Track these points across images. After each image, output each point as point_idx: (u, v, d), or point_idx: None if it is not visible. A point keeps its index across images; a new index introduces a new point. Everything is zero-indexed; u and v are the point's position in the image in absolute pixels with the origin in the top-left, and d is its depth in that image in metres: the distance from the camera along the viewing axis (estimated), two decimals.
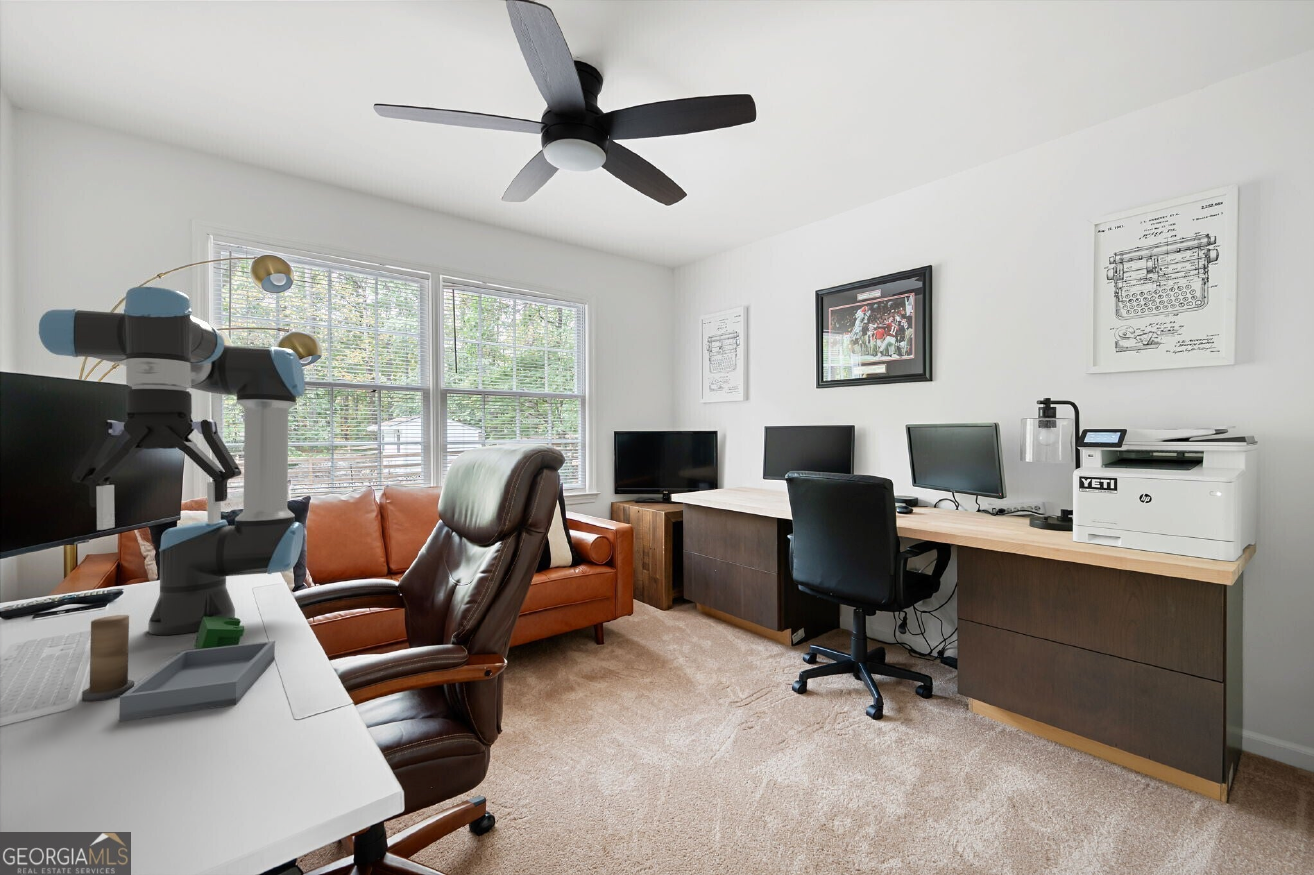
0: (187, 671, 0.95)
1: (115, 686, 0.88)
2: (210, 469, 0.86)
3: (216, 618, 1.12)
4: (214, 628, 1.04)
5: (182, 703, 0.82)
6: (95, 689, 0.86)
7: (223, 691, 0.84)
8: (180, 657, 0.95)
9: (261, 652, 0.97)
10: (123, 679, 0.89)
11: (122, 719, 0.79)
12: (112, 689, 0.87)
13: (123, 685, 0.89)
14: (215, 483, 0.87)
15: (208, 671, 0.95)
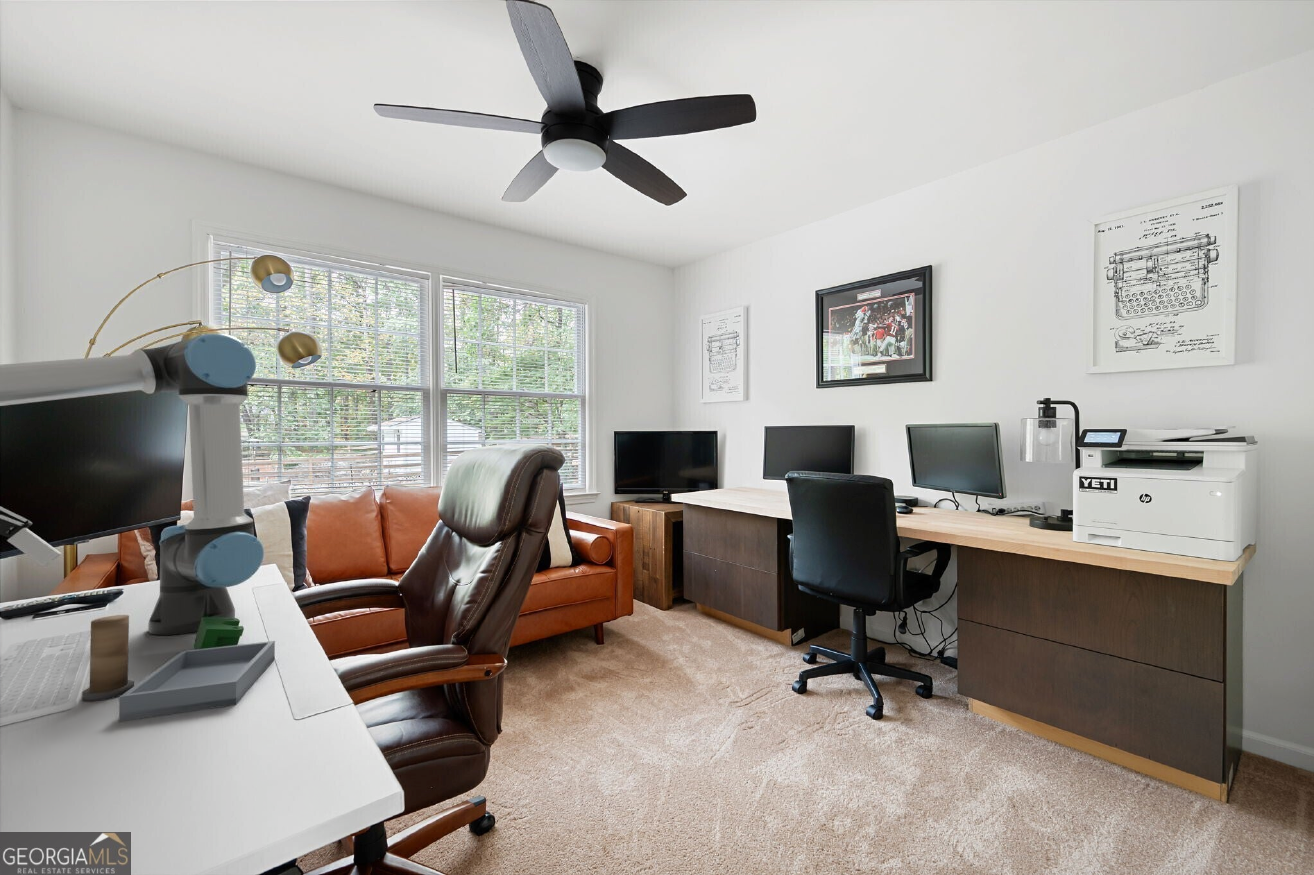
0: (187, 671, 0.95)
1: (115, 686, 0.88)
2: None
3: (215, 618, 1.12)
4: (213, 628, 1.04)
5: (182, 703, 0.82)
6: (95, 689, 0.86)
7: (223, 691, 0.84)
8: (180, 657, 0.95)
9: (261, 652, 0.97)
10: (123, 679, 0.89)
11: (122, 719, 0.79)
12: (112, 689, 0.87)
13: (123, 685, 0.89)
14: None
15: (208, 671, 0.95)
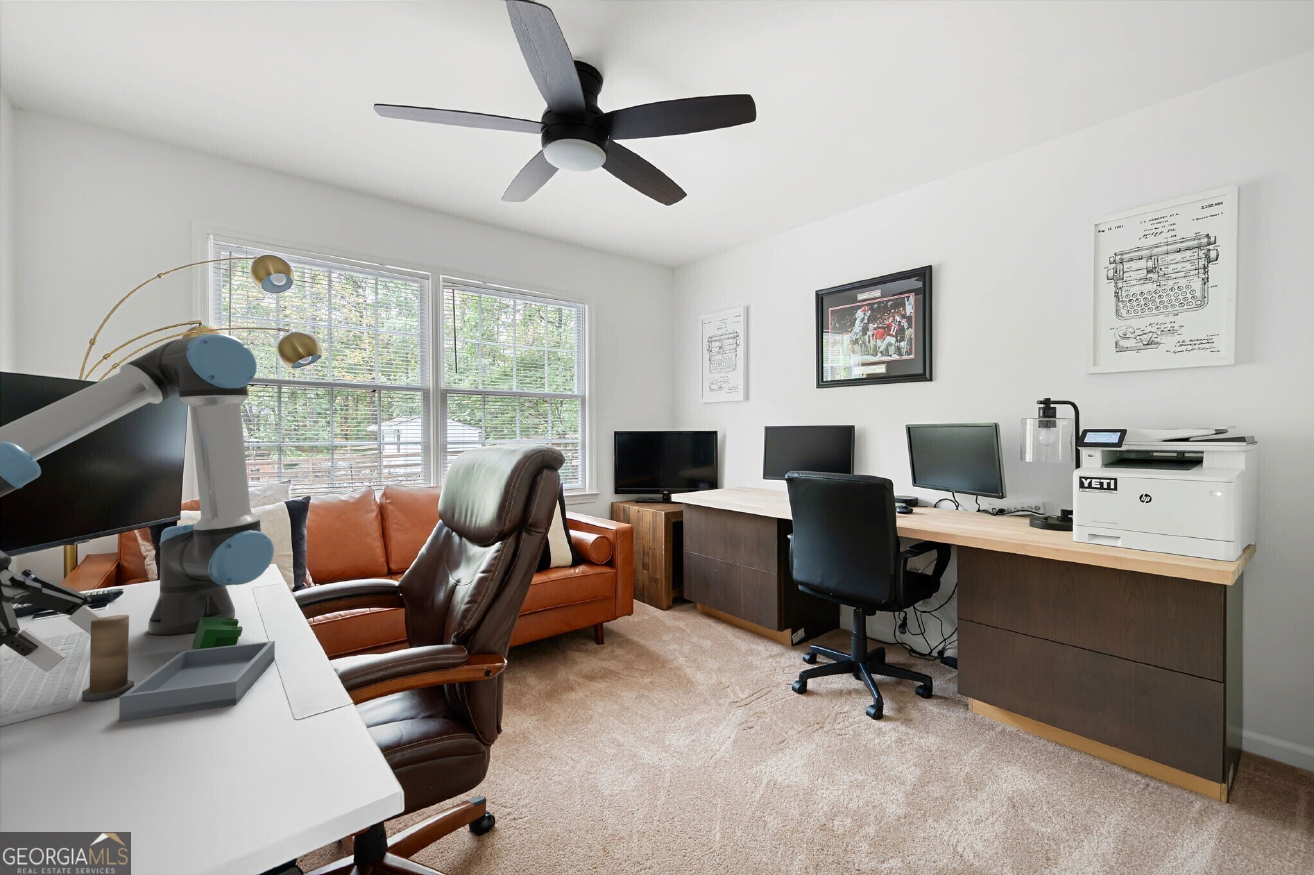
0: (187, 671, 0.95)
1: (115, 686, 0.88)
2: None
3: (214, 618, 1.11)
4: (212, 628, 1.04)
5: (182, 703, 0.82)
6: (95, 689, 0.86)
7: (223, 691, 0.84)
8: (180, 657, 0.95)
9: (261, 652, 0.97)
10: (123, 679, 0.89)
11: (122, 719, 0.79)
12: (112, 689, 0.87)
13: (123, 685, 0.89)
14: None
15: (208, 671, 0.95)
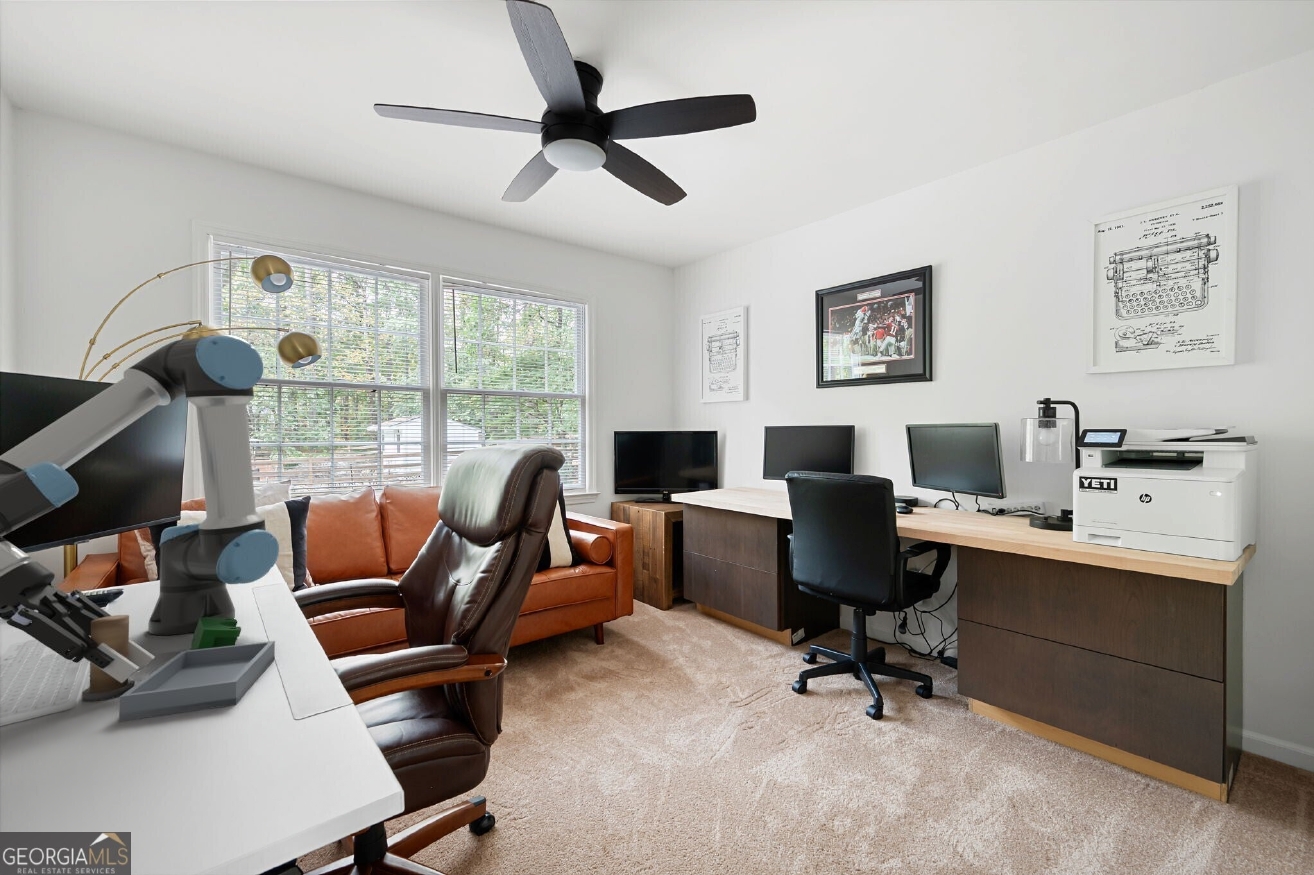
0: (187, 671, 0.95)
1: (115, 686, 0.88)
2: None
3: (213, 619, 1.11)
4: (210, 629, 1.04)
5: (182, 703, 0.82)
6: (95, 689, 0.86)
7: (223, 691, 0.84)
8: (180, 657, 0.95)
9: (261, 652, 0.97)
10: None
11: (122, 719, 0.79)
12: (112, 689, 0.87)
13: (123, 685, 0.89)
14: None
15: (208, 671, 0.95)
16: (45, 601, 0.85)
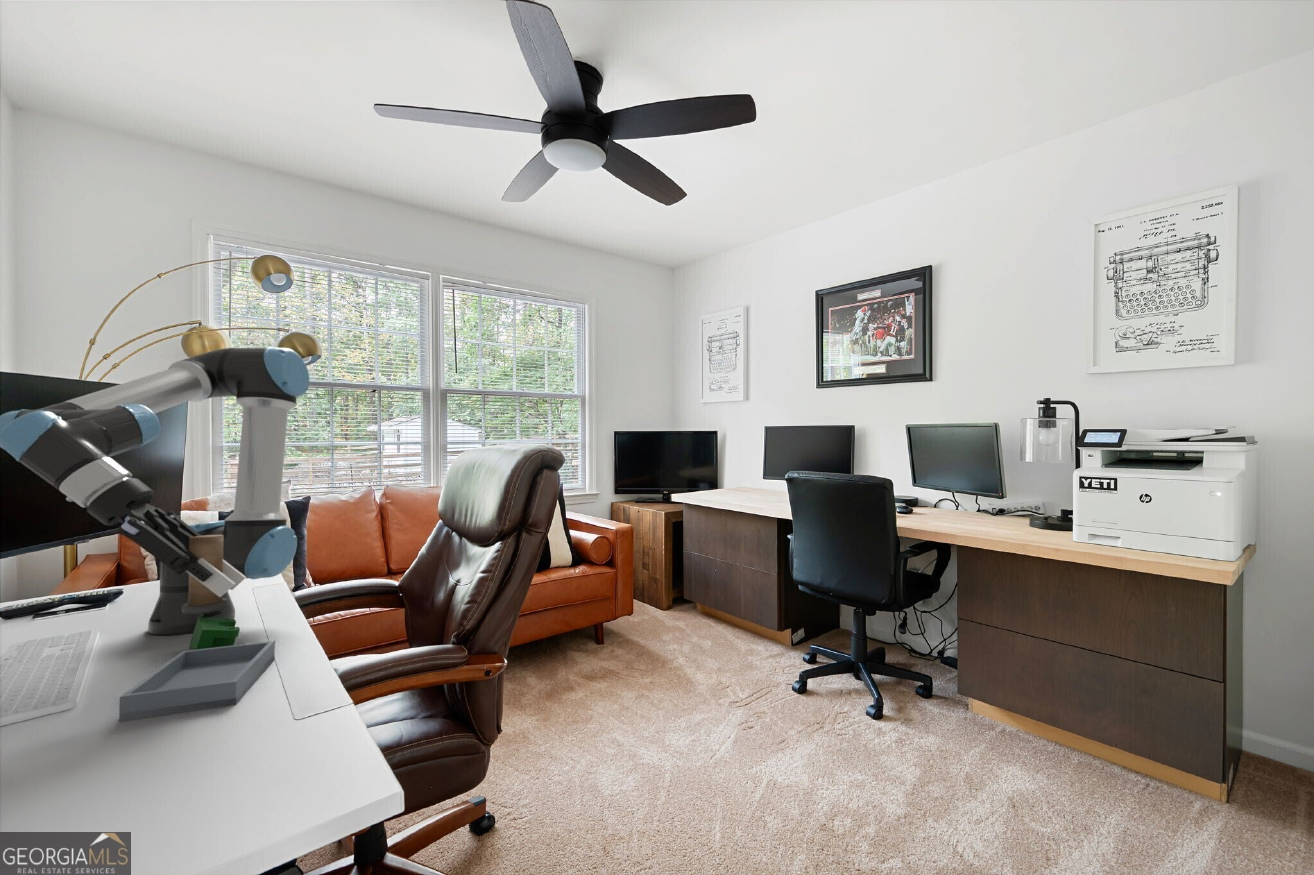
0: (187, 671, 0.95)
1: (212, 601, 0.90)
2: None
3: (211, 619, 1.11)
4: (209, 629, 1.04)
5: (182, 703, 0.82)
6: (194, 602, 0.89)
7: (223, 691, 0.84)
8: (180, 657, 0.95)
9: (261, 652, 0.97)
10: None
11: (122, 719, 0.79)
12: (210, 603, 0.90)
13: (219, 601, 0.91)
14: None
15: (208, 671, 0.95)
16: (148, 515, 0.87)
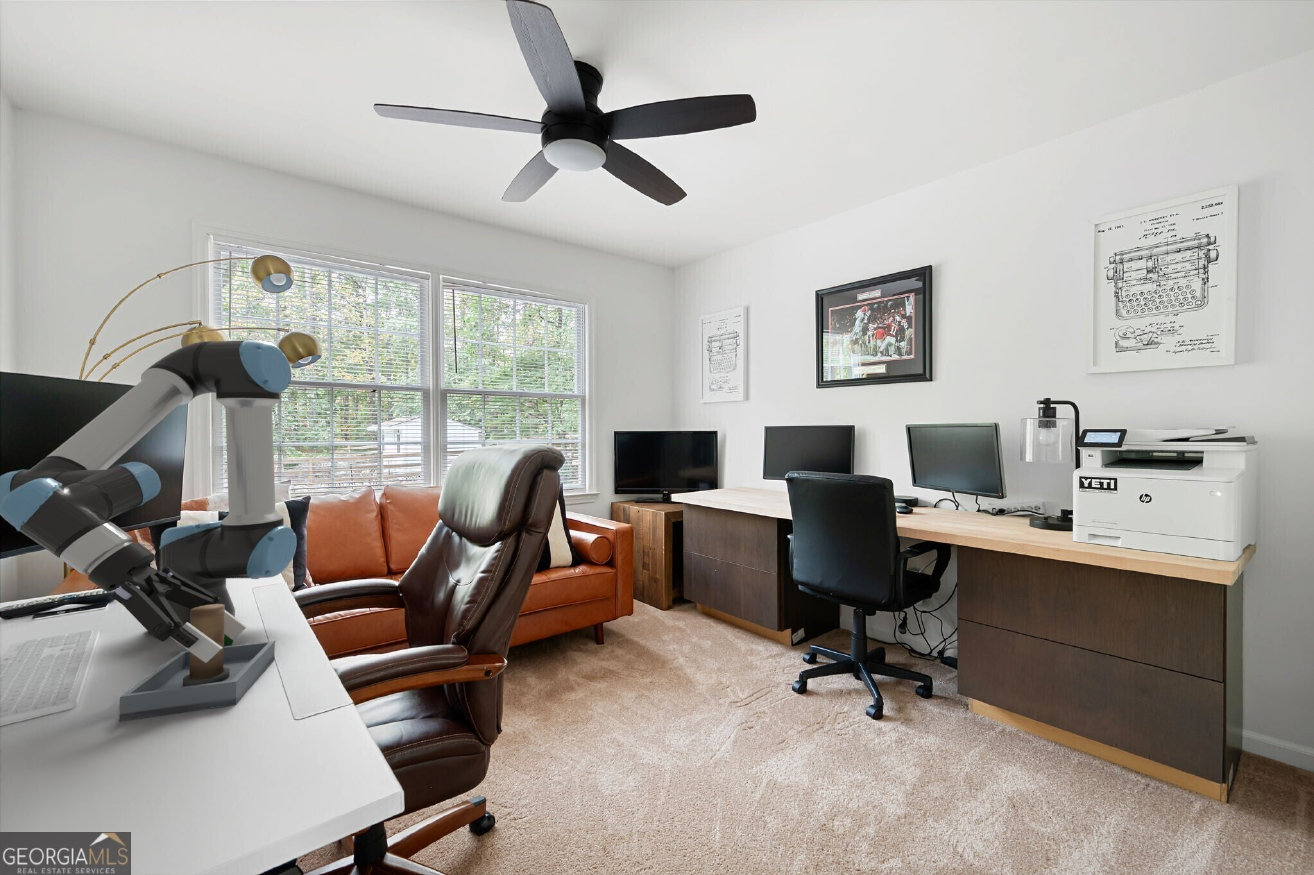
0: (187, 671, 0.95)
1: (214, 673, 0.90)
2: None
3: None
4: None
5: (182, 703, 0.82)
6: (196, 676, 0.89)
7: (223, 691, 0.84)
8: (180, 657, 0.95)
9: (261, 652, 0.97)
10: (220, 666, 0.91)
11: (122, 719, 0.79)
12: (211, 676, 0.90)
13: (220, 672, 0.91)
14: None
15: None
16: (148, 580, 0.87)
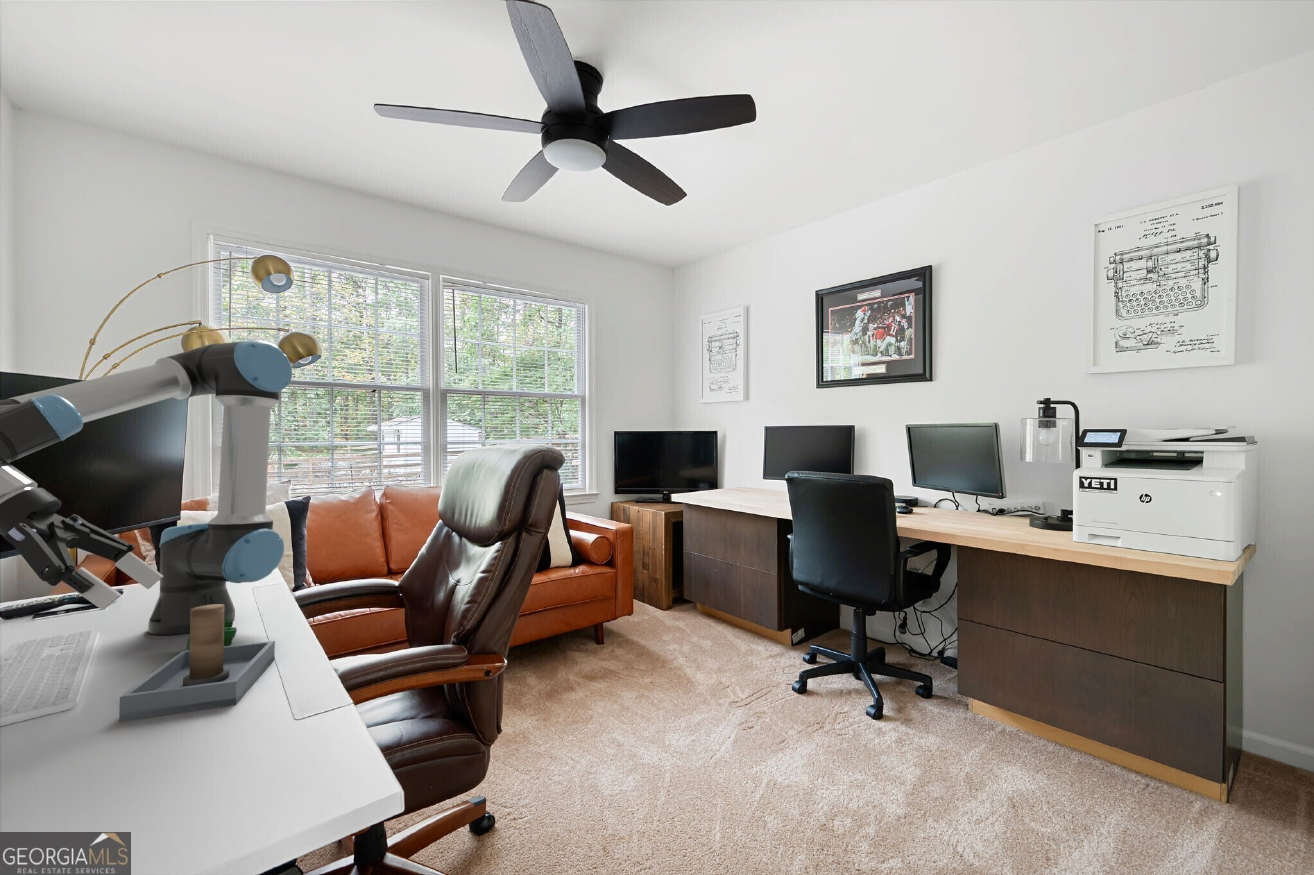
0: (187, 671, 0.95)
1: (214, 673, 0.90)
2: None
3: None
4: None
5: (182, 703, 0.82)
6: (196, 676, 0.89)
7: (223, 691, 0.84)
8: (180, 657, 0.95)
9: (261, 652, 0.97)
10: (220, 666, 0.91)
11: (122, 719, 0.79)
12: (211, 676, 0.90)
13: (220, 672, 0.91)
14: None
15: None
16: (50, 525, 0.84)
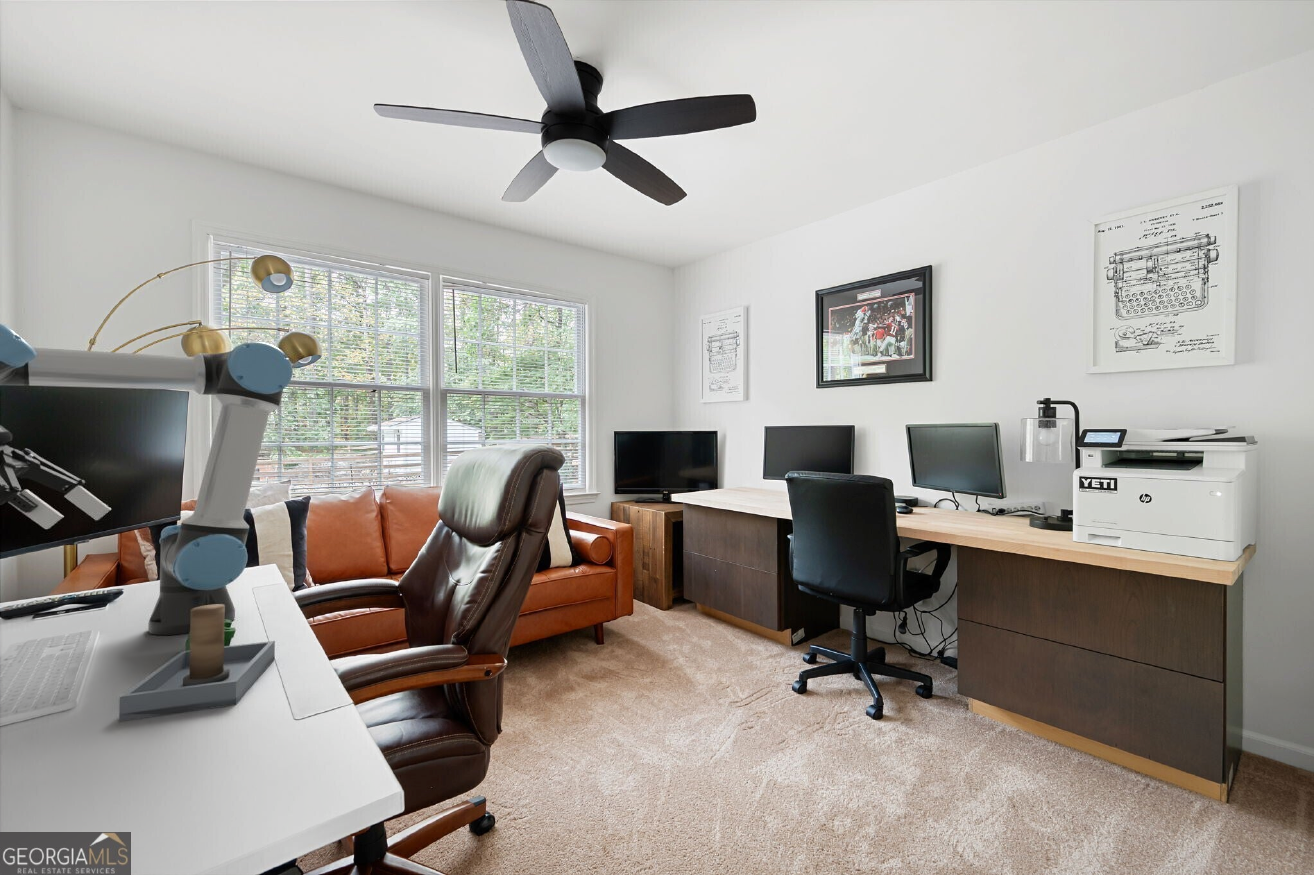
0: (187, 671, 0.95)
1: (214, 673, 0.90)
2: None
3: None
4: None
5: (182, 703, 0.82)
6: (196, 676, 0.89)
7: (223, 691, 0.84)
8: (180, 657, 0.95)
9: (261, 652, 0.97)
10: (220, 666, 0.91)
11: (122, 719, 0.79)
12: (211, 676, 0.90)
13: (220, 672, 0.91)
14: None
15: None
16: (0, 453, 0.91)
